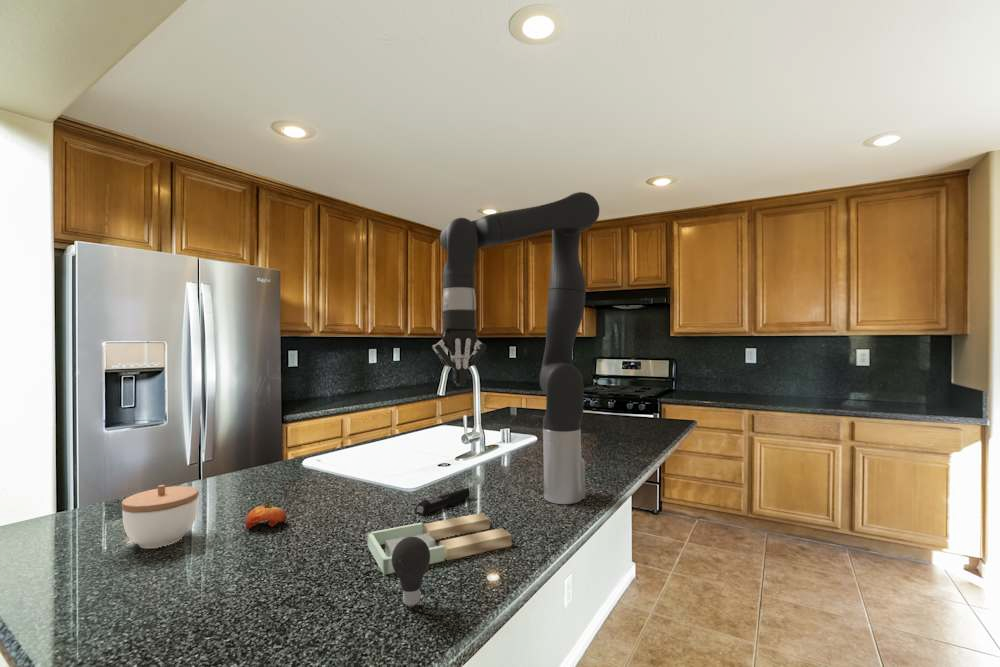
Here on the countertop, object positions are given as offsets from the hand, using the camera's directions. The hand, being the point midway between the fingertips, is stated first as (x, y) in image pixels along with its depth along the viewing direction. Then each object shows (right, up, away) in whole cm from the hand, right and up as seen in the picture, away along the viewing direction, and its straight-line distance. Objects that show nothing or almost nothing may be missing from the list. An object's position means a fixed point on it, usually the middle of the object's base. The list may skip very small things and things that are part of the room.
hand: (460, 385), depth 109 cm
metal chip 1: (-10, -29, -20) cm, 37 cm away
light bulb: (-4, -29, -38) cm, 47 cm away
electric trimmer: (-5, -30, +6) cm, 31 cm away
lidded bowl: (-59, -30, -13) cm, 67 cm away
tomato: (-41, -30, -6) cm, 51 cm away
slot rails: (+2, -29, -14) cm, 32 cm away
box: (-9, -29, -20) cm, 36 cm away
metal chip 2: (-6, -29, -19) cm, 35 cm away
